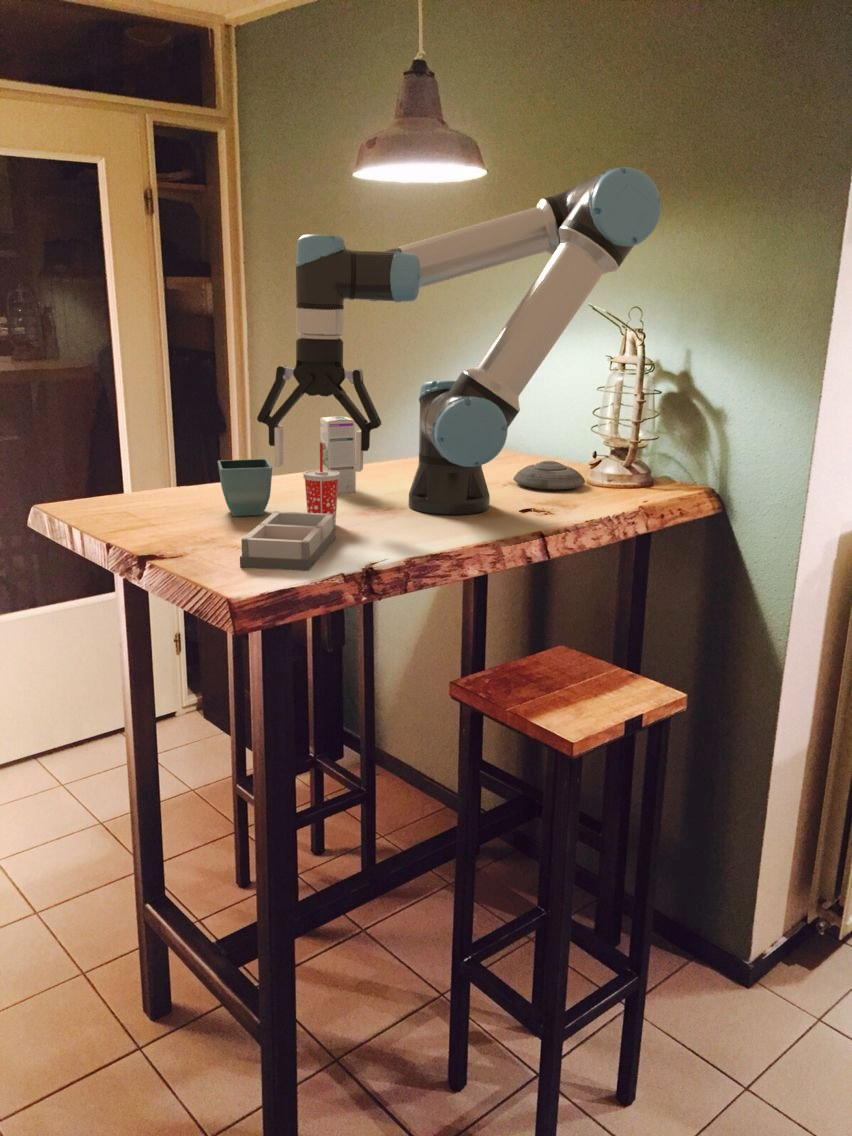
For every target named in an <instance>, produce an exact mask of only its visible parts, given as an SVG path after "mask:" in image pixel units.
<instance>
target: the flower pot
mask: <svg viewBox="0 0 852 1136" xmlns="http://www.w3.org/2000/svg"><path fill="white" fill-rule="evenodd" d="M217 466H218V473H219V479H220V484H221V485H220V486H221V490H222V493H223V497H224V499H225V503H226V505H227V508H228V509H229V512H230V513H231V515H232V516H233V517H247V516H261V515H263V514H264V512H265V510H266V508H267V506H268V504H269V501H270V497H271V490H272V477H273V466H272V465H271V463H270V461H269V460H268V459H267V458H259V459H258V458H256V459H255V458H254V459H249V458H248V459H229V460H228V459H227V460H226V459H225V460H224V459H222V460H217Z"/></svg>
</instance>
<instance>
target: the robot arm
mask: <svg viewBox="0 0 852 1136" xmlns="http://www.w3.org/2000/svg"><path fill="white" fill-rule="evenodd" d="M661 211H662V203H661V196H660V192H659V190H658V187H657V185H656V184H655V182H654V181H653V180H652V178H651V177H650V176H648V175H647V174H646V173H645V172H644V171H642V170H640V169H637V168H634V167H627V166H626V167H625V166H624V167H612V168H610V169H607V170H605V171H604V172H603V173H600V174H598V175H595V176H591V177H589V178H586V179H585V180H583V181H581V182H579V183H577V184H576V185H573V186H571V187H570V188H568V189H565V190H562V191H561V192H559V193H558V192H557V194H553V195H551V196H548V197H544V198H541V199H540V200H539V201H538V202H537V204H536V206H535V207H531V208H528V209H525V210H521V211H517V212H515V213H511V214H507V215H504V216H501V217H496V218H494V219H490V220H487V221H484V222H480V223H477V224H473V225H470V226H467V227H462V228H460V229H456V230H452V231H449V232H446V233H443V234H440V235H436V236H432V237H429V238H425V239H421V240H418V241H414V242H412V243H408V244H405V245H404V244H403V245H401V246H399V247H396V248H395V247H394V248H391V249H388V250H387V249H386V250H385V251H384V250H383V251H380V250H379V251H378V250H376V251H375V250H374V251H373V250H354V249H348V248H346V245H345V239H344V238H343V236H339V235H330V234H329V235H328V234H303V235H301V236H300V237H299V238H298V240H297V241H296V255H295V256H296V259H295V287H296V288H295V294H296V295H295V298H296V299H295V300H296V305H295V307H296V308H295V309H296V315H295V317H296V318H295V333H296V334H297V335H299V337H297V339H296V341H295V344H296V345H295V360H296V361H295V366H294V368H293V367H287V365H284V364H283V365H280V366H278V367H276V372H275V378H274V379H275V380H274V382H273V384H272V386H271V388H270V390H269V393H268V395H267V397H266V399H265V400H264V403H263V405H262V407H261V409H260V411H259V413H258V415H257V418H256V420H257V422H259V423H262V424H265V425H266V426H267V427H268V444H269V446H270V447H274V467H275V468H280V467H282V466H283V465H284V425H279V424H280V422H282V420H283V419H284V417H285V416H286V415H287V414H288V413H289V412H290V411H291V410H292V408H293V407H294V406H295V405H296V404H297V402H298V401H299V400H300V399H301V398H302V397H303V396H304V395H305V394H306V395H308V396H311V397H314V396H321V397H329V396H331V395H332V396H333V397H334V398H335V399H336V400H337V401H338V402H339V404H340V405H341V406H342V407H343V409H344V410H345V411H346V412H347V413H348V415H349V416H350V418H351V419H353V420H354V421H355V424H356V426H358V428H359V429H358V430H357V431H355V462H356V473H357V472H361V471H362V470H364V452H368V451H369V449H370V445H371V444H370V443H371V442H370V440H371V439H370V438H371V430H372V431H373V430H374V429H378V428H380V426H381V425H382V420H381V418H380V416H379V414H378V412H377V410H376V408H375V405H374V403H373V401H372V398H371V397H370V394H369V392H368V390H367V388H366V385H365V383H364V375H363V370H362V369H361V368H358V369H354V370H352V369H351V370H345V367H344V341H343V339H341V338H340V336H341V337H342V336H343V335H344V312H345V310H344V307H345V305H344V303H345V302H344V301H345V300H349V301H350V300H353V301H354V300H360V301H370V302H395V303H401V302H414V301H416V300H417V298H418V296H419V292H420V289H422V288H425V287H429V286H431V285H436V284H439V283H442V282H445V281H446V282H447V281H450V280H453V279H456V278H459V277H463V276H467V275H471V274H474V273H477V272H480V271H484V270H488V269H490V268H494V267H498V266H500V265H504V264H508V263H511V262H515V261H518V260H522V259H525V258H530V257H533V256H536V255H538V254H543V253H548V254H549V255H551V256H550V258H549V259H548V261H547V263H546V264H545V266H544V267H543V269H542V270H541V271H540V273H539V275H538V276H537V277H536V279H535V280H534V281H533V283H532V284H531V286H530V288H529V289H528V291H527V292H526V294H524V296H523V298H522V299H521V300H520V303H519V304H518V305H517V306H516V308H515V310H514V311H513V313H512V314H511V316H510V317H509V319H507V321H506V323H505V324H504V326H503V327H502V328H501V330H500V332H499V333H498V335H497V336H496V337H495V339H494V340H493V341H492V343H491V345H490V346H489V348H488V349H487V351H486V353H485V354H484V356H483V357H482V358H481V360H480V361H479V363H478V364H477V366H476V367H474V368H470V369H465V370H462V371H461V373H460V374H459V376H458V377H457V379H456V380H436V381H435V380H432V381H425V382H423V384H421V387H420V391H419V393H420V394H419V397H418V402H419V431H418V432H419V434H418V435H419V436H418V438H419V439H418V466H417V469H416V470H415V471H416V472H415V475H414V477H413V480H412V483H411V486H410V489H409V492H408V507H409V509H412V510H414V511H419V512H422V513H428V514H436V515H437V514H438V515H455V516H456V515H471V514H478V513H482V512H485V511H487V510H490V503H491V502H490V501H491V500H490V499H491V496H490V492H489V489H488V485H487V481H486V478H485V474H484V472H483V466H482V465H485V464H487V463H490V462H491V461H492V460H494V459H495V458H496V457H497V456H498V455H499V454H500V453H501V452H502V450H503V448H504V446H505V444H506V441H507V438H508V437H507V436H508V429H509V427H510V426H511V424H512V423H513V421H514V420H515V418H516V417H517V415H518V414H519V412H520V411H521V408H520V402H519V399H520V398H519V397H520V395H521V394H522V393H523V390H524V389H525V388H526V387H527V385H528V383H529V382H530V381H531V379H532V378H533V377H534V375H535V374H536V372H537V370H538V369H539V368H540V366H541V365H542V364H543V362H544V360H545V359H546V357H547V356H548V354H550V352H551V350H552V349H553V347H554V346H555V344H556V343H557V341H558V340H559V339H560V337H561V336H562V335H563V333H564V331H565V330H566V329H567V327H568V326H569V324H570V322H571V321H572V320H573V319H574V317H575V315H576V314H577V313H578V312H579V310H580V308H581V307H582V306H583V304H584V303H585V301H586V299H588V297H589V295H590V293H591V292H592V291H593V289H594V288H595V286H596V285H597V283H598V282H599V281H600V279H601V278H602V277H603V275H604V274H607V273H613V272H617V271H618V270H619V269H620V267H621V265H622V264H623V262H624V261H625V259H626V258H627V256H628V255H629V253H631V251H632V249H633V248H634V247H635V246H637V245H639V244H641V243H642V242H644V241H646V239H647V238H648V237H650V236H651V234H653V232H654V231H655V230H656V227H657V226H658V223H659V221H660V218H661ZM292 376H293V377H294V379H295V380H296V382H297V383H298V385H297V386H296V388H294V390H293V391H292V392H291V394H290V395H289V396H288V397H287V398H286V400H285V401H284V402H283V403H282V404H281V406H279V408H278V409H277V410H276V412H275V413H274V414H273V415H271V414H272V412H273V410H274V407H275V405H276V403H277V401H278V399H279V397H280V395H281V393H282V391H283V389H284V387H285V384H286V383H287V381H289V380H290V379H291V377H292ZM345 379H348V381H349V383H350V384H353V387H354V390H355V391H356V394H357V397H358V398H359V400H360V403H361V405H362V408H363V409H364V412H365V413H366V416H367V418H368V420H367V419H366V417H365V416H364V415H363V414H362V411H360V410H359V409H358V407H357V406H356V404H355V403H354V402H353V401H352V399H351V398H350V397H349V395H348V394H347V392H346V390H344V388H343V386H341V384H343V382H344V381H345Z"/></svg>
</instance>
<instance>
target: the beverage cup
mask: <svg viewBox="0 0 852 1136" xmlns="http://www.w3.org/2000/svg"><path fill="white" fill-rule="evenodd" d="M302 475H303V479H304V485H305V487H304V488H305V499H306V513H322V514H334V527H336V525H337V509H338V508H337V507H338V494H337V491H338V479H339V478H340V477H339V475H340V473H339V472H337V471H332V470H323V443H321V442H319V469H312V470H306V471H304V472H302Z"/></svg>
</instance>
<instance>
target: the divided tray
mask: <svg viewBox="0 0 852 1136" xmlns="http://www.w3.org/2000/svg"><path fill="white" fill-rule="evenodd" d="M336 538H337V529H336V528H335V526H334V514H322V513H307V512H301V511H299V512H297V511H278V510H277V511H273V512H272V513H271V514H270V515H269V516H268V517H266V518H265V519H264V520H263V521H261V522H260V523H259V524H258V525H257V526H255V527H254V528H253V529H252V530H250V532H249V533H247V534H245V536H243V537H242V538H241V555H240V556H239V567H240V568H252V569H253V568H254V569H271V570H273V569H275V570H291V571H292V570H293V571H310V570H311V569H312V568H313V566H314V565H315V564H316V563H317V562H318V560H320V558H321V556H322V555H323V554H324V553H325V551H326V550H327V549H328V548H329V547H330V545H331V544H332V543H333V542H334V541H335V539H336Z"/></svg>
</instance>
